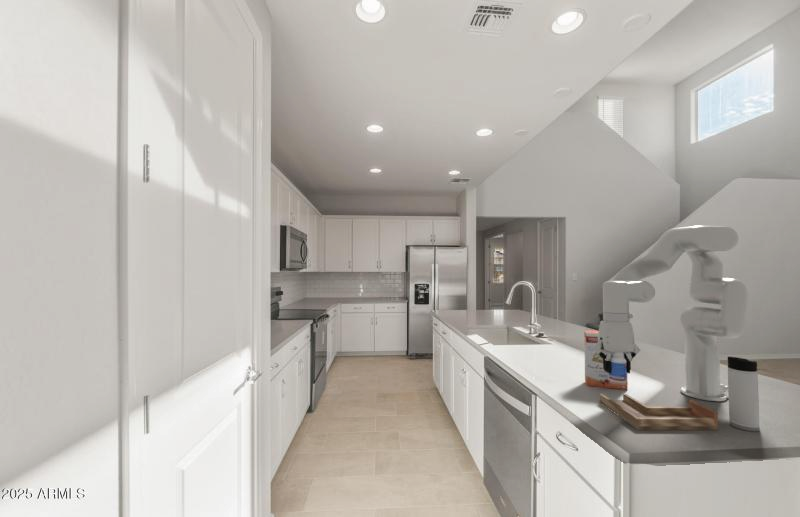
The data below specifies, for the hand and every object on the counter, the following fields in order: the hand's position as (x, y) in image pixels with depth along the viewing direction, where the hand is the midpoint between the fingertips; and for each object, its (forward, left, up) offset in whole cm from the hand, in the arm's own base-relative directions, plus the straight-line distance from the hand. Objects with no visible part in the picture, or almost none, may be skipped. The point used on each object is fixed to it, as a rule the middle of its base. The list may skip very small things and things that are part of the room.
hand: (616, 371), depth 118 cm
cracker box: (-7, -20, -12) cm, 24 cm away
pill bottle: (0, 0, -3) cm, 3 cm away
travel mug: (-27, +15, -12) cm, 33 cm away
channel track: (-6, +7, -11) cm, 15 cm away
